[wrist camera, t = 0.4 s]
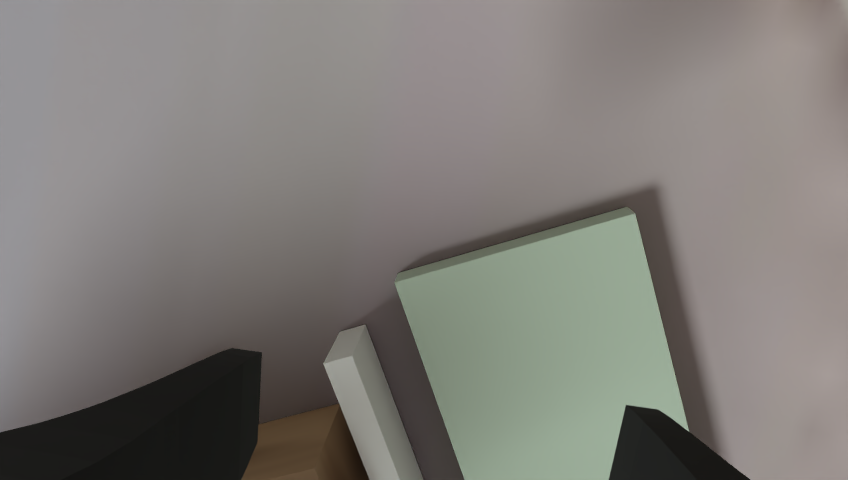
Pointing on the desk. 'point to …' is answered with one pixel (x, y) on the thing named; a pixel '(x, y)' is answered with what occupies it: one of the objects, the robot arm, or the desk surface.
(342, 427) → the walnut block
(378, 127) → the desk surface
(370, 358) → the parallel rails
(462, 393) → the mat
